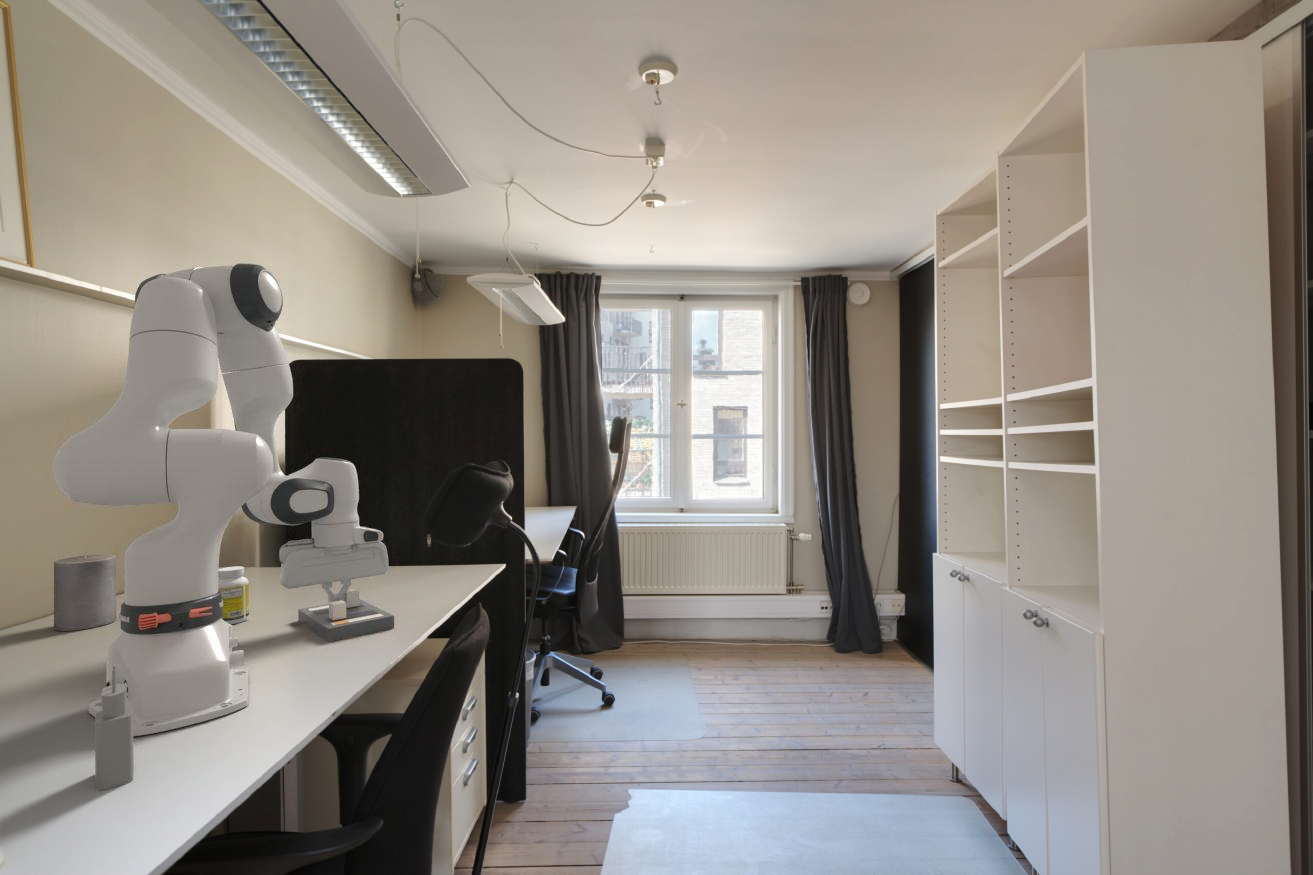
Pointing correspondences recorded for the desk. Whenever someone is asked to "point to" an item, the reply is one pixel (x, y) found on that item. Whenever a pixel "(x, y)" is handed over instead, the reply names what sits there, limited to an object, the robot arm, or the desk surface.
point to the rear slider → (352, 598)
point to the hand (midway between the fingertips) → (336, 602)
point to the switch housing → (346, 621)
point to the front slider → (337, 610)
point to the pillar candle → (84, 592)
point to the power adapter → (114, 737)
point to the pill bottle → (234, 594)
